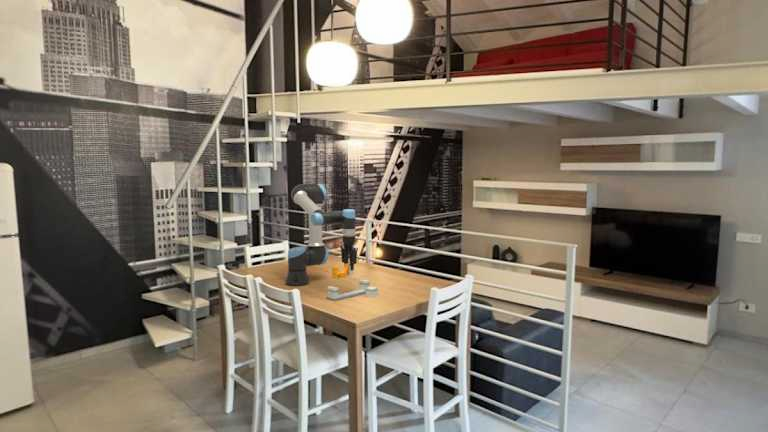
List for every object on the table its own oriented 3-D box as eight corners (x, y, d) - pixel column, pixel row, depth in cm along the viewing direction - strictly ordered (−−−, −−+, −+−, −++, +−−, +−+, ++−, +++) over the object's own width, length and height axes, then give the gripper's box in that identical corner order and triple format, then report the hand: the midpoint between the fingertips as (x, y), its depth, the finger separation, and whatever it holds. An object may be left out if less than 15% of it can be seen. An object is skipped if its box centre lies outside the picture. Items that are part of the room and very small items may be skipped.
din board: (326, 298, 286) (326, 296, 286) (361, 290, 306) (361, 288, 306) (335, 301, 281) (335, 298, 281) (370, 292, 301) (370, 290, 301)
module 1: (327, 297, 286) (327, 286, 285) (331, 296, 288) (331, 286, 287) (334, 299, 281) (334, 288, 281) (338, 298, 284) (338, 287, 283)
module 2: (359, 289, 303) (359, 280, 303) (362, 288, 306) (362, 279, 305) (366, 291, 299) (366, 281, 299) (369, 290, 301) (369, 280, 301)
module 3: (365, 296, 292) (365, 288, 291) (370, 294, 296) (370, 286, 295) (372, 297, 289) (372, 289, 288) (377, 295, 293) (377, 287, 292)
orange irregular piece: (337, 279, 282) (337, 268, 281) (332, 277, 284) (332, 266, 284) (352, 275, 291) (352, 265, 290) (347, 274, 293) (347, 263, 293)
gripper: (335, 234, 293) (335, 273, 295) (353, 237, 282) (353, 278, 284) (344, 233, 298) (344, 271, 301) (363, 236, 287) (363, 276, 290)
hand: (349, 274), depth 292 cm, fingers closed on orange irregular piece, 3 cm apart
